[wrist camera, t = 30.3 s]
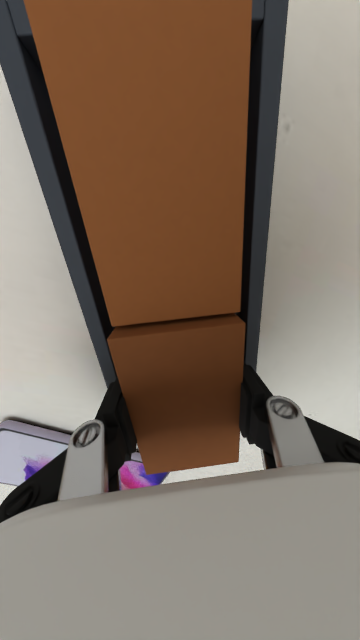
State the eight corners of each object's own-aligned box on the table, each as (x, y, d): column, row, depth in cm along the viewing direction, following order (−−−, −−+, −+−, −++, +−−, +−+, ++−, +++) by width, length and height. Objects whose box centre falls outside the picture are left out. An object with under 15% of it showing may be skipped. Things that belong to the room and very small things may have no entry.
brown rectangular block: (128, 304, 10) (111, 327, 7) (83, 93, 7) (9, -45, 4) (218, 294, 10) (241, 312, 7) (215, 83, 7) (256, -59, 4)
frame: (131, 420, 15) (125, 444, 13) (27, 64, 7) (-24, -5, 5) (240, 406, 15) (251, 427, 13) (259, 47, 7) (291, -25, 5)
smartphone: (-6, 424, 13) (174, 468, 16) (4, 414, 13) (173, 458, 17) (-21, 481, 15) (142, 509, 18) (-11, 469, 15) (143, 498, 19)
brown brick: (151, 420, 13) (145, 475, 10) (126, 310, 10) (106, 339, 7) (221, 411, 13) (238, 462, 10) (220, 299, 10) (246, 323, 7)
